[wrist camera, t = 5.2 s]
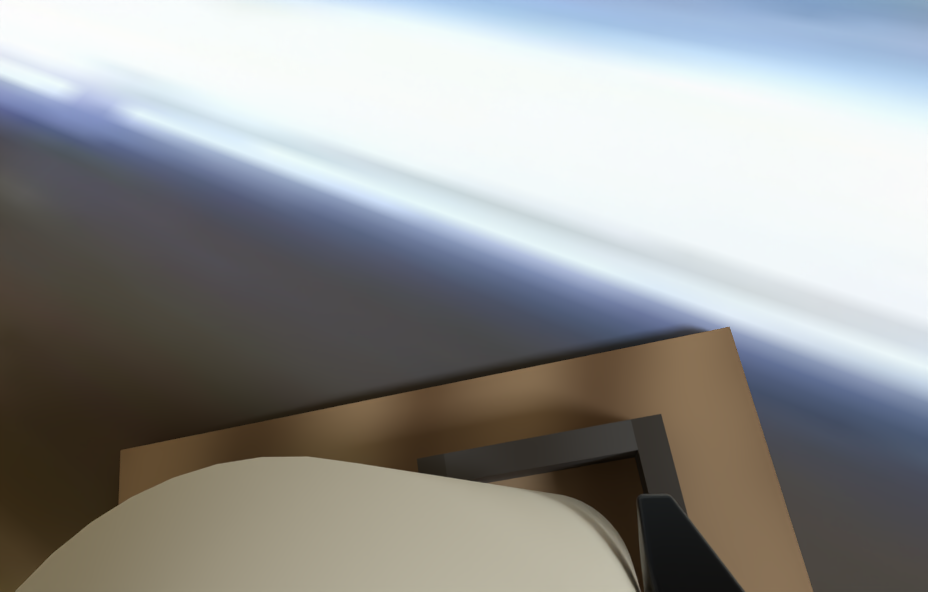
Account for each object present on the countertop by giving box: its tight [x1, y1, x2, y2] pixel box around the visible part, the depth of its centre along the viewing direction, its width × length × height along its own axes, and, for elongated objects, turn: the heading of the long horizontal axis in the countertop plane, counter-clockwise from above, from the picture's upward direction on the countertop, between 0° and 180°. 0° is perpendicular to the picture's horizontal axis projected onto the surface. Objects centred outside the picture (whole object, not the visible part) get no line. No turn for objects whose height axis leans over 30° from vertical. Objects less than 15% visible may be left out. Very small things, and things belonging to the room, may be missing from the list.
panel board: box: [118, 327, 813, 592], centre depth 18 cm, size 22×12×4 cm, turn 99°
